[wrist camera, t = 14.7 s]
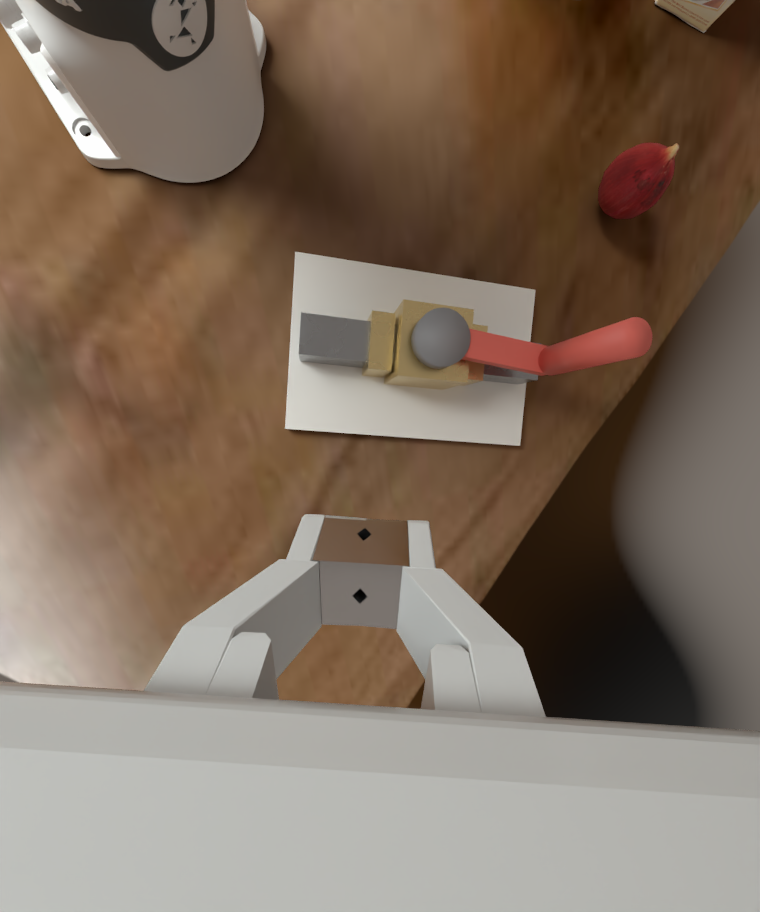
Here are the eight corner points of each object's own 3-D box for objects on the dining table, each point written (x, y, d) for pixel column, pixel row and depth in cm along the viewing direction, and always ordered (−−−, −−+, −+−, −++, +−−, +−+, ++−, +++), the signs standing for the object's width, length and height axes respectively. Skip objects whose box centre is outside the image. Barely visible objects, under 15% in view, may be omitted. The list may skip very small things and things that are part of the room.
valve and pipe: (299, 377, 35) (296, 364, 28) (303, 313, 35) (300, 284, 28) (509, 398, 39) (553, 391, 32) (515, 341, 39) (560, 321, 32)
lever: (407, 363, 29) (449, 334, 20) (415, 307, 29) (462, 253, 20) (550, 391, 32) (645, 376, 23) (559, 340, 31) (658, 305, 22)
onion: (628, 233, 40) (705, 185, 32) (581, 234, 39) (649, 186, 31) (626, 176, 39) (703, 114, 32) (578, 176, 38) (646, 112, 31)
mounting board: (286, 428, 35) (285, 428, 34) (295, 257, 34) (295, 251, 33) (513, 445, 40) (520, 445, 38) (528, 294, 38) (535, 289, 37)
